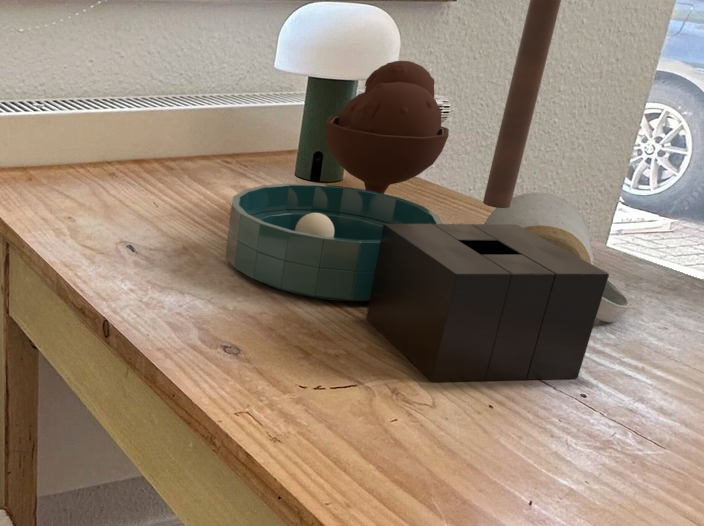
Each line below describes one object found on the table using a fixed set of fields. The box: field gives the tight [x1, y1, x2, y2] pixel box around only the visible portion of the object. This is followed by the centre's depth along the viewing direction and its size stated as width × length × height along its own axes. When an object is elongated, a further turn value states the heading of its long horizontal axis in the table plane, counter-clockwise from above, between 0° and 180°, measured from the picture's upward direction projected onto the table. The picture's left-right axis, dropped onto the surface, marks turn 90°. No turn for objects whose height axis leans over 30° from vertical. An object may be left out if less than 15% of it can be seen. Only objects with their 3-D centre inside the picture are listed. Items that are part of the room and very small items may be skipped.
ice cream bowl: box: [325, 60, 450, 194], centre depth 80 cm, size 11×11×15 cm
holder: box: [365, 223, 610, 383], centre depth 57 cm, size 10×10×7 cm
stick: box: [482, 0, 562, 209], centre depth 51 cm, size 2×2×18 cm
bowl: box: [225, 183, 444, 302], centre depth 70 cm, size 16×16×5 cm
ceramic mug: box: [484, 192, 630, 323], centre depth 65 cm, size 11×8×8 cm
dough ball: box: [295, 213, 334, 237], centre depth 73 cm, size 3×3×3 cm
